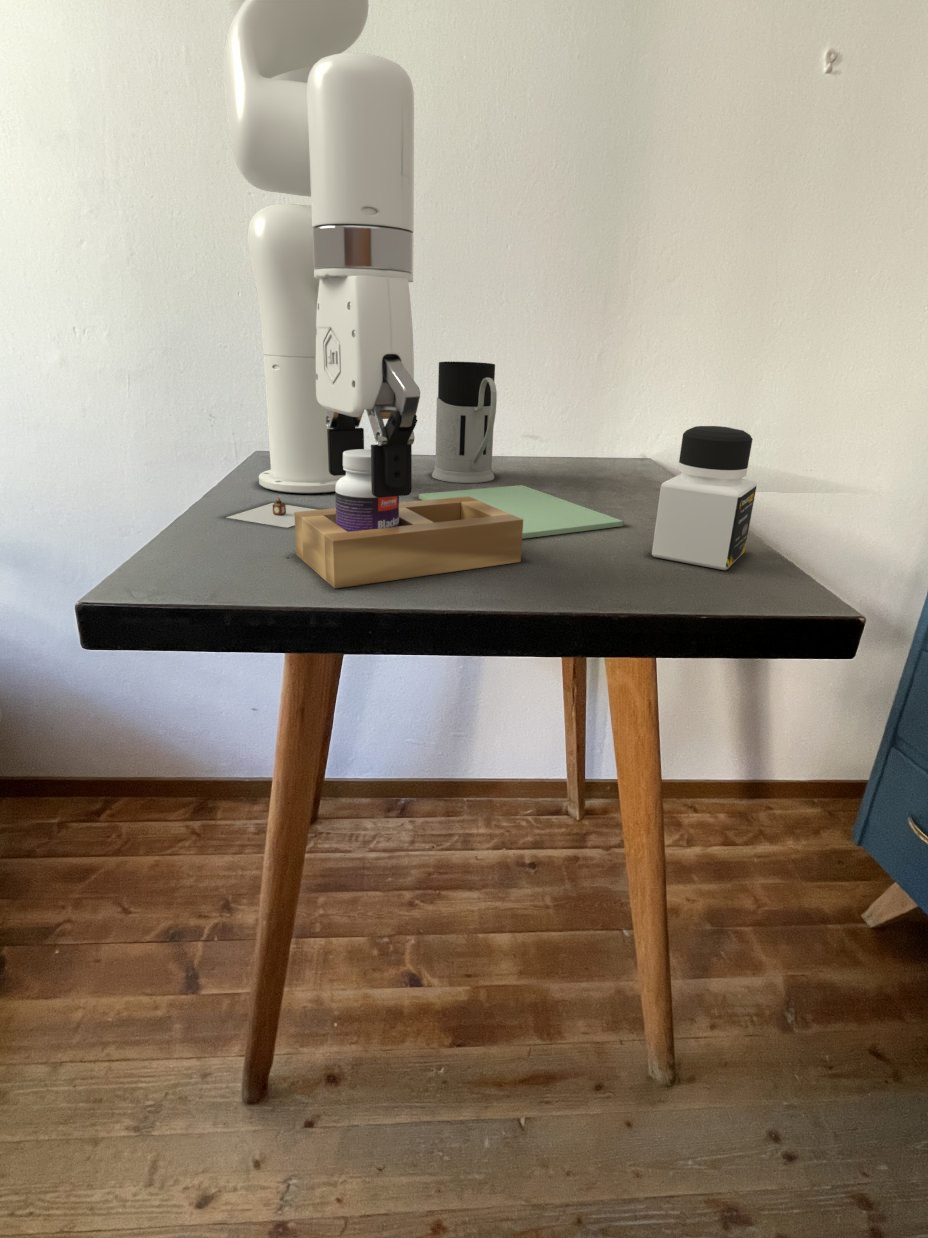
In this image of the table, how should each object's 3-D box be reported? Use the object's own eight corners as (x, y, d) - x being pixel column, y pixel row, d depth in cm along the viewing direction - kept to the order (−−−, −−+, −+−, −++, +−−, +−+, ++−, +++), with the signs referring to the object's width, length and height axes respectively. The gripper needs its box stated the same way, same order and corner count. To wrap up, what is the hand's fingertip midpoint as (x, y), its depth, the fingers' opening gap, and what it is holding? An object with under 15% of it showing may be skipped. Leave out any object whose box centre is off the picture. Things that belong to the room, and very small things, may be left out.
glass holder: (480, 469, 108) (485, 361, 103) (520, 489, 96) (528, 368, 91) (423, 471, 105) (425, 360, 100) (458, 492, 93) (461, 367, 88)
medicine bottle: (726, 571, 66) (750, 436, 62) (650, 557, 70) (667, 427, 65) (744, 553, 72) (768, 427, 68) (673, 540, 76) (690, 420, 71)
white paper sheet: (331, 511, 82) (330, 494, 81) (287, 527, 75) (286, 509, 75) (272, 502, 85) (271, 486, 84) (225, 517, 78) (223, 500, 78)
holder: (296, 555, 67) (294, 511, 65) (467, 534, 75) (468, 496, 74) (334, 589, 59) (332, 540, 57) (520, 562, 67) (523, 519, 66)
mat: (418, 498, 89) (418, 493, 89) (521, 489, 96) (522, 484, 96) (507, 540, 73) (507, 535, 73) (623, 526, 80) (623, 520, 80)
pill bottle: (388, 576, 62) (388, 459, 58) (328, 570, 63) (323, 455, 59) (406, 558, 67) (406, 449, 63) (349, 552, 68) (347, 445, 64)
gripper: (282, 262, 61) (293, 469, 67) (360, 246, 47) (365, 509, 53) (366, 268, 65) (369, 465, 71) (462, 255, 51) (456, 501, 57)
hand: (367, 484), depth 62 cm, fingers open, 9 cm apart
